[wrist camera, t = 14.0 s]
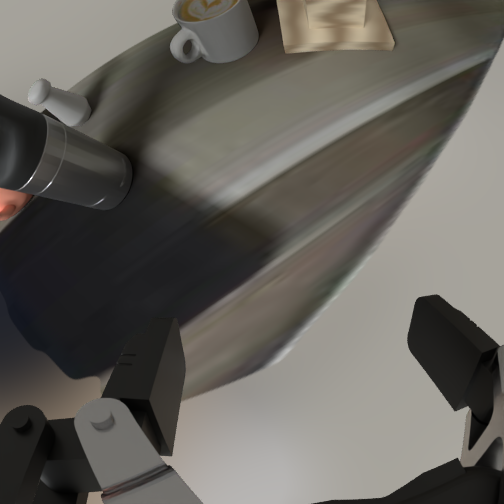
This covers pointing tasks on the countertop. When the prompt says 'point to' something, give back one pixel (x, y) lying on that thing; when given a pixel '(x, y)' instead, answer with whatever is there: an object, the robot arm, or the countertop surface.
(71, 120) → the salt shaker
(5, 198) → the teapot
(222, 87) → the countertop surface
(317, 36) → the shelf stand
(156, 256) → the countertop surface
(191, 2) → the coffee mug
